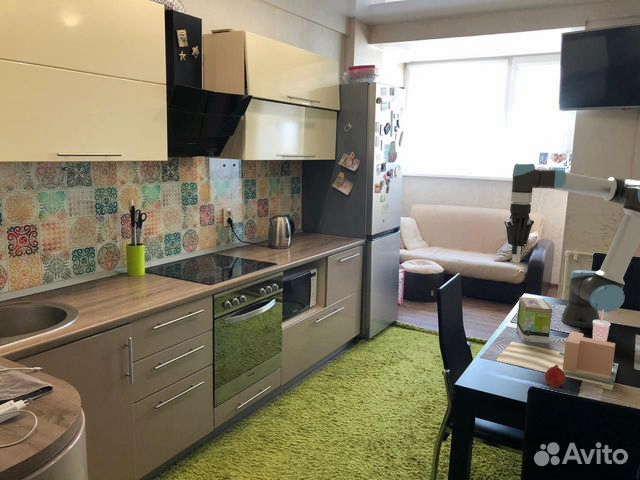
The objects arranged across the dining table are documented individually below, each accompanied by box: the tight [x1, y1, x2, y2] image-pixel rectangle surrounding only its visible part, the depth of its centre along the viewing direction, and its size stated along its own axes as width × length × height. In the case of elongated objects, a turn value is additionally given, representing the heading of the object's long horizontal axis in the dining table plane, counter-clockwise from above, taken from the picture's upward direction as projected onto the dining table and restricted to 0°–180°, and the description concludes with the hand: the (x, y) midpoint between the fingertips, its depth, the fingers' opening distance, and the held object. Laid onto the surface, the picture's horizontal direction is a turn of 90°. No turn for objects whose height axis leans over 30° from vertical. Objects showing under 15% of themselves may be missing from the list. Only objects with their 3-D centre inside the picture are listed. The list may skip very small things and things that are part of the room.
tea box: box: [516, 296, 553, 344], centre depth 210 cm, size 15×10×15 cm
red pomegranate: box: [544, 365, 566, 390], centre depth 166 cm, size 6×6×8 cm
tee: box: [563, 330, 616, 376], centre depth 179 cm, size 12×14×10 cm
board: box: [495, 341, 619, 391], centre depth 185 cm, size 22×36×2 cm, turn 57°
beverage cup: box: [592, 309, 611, 342], centre depth 204 cm, size 6×6×14 cm
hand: (515, 262), depth 212 cm, fingers closed
